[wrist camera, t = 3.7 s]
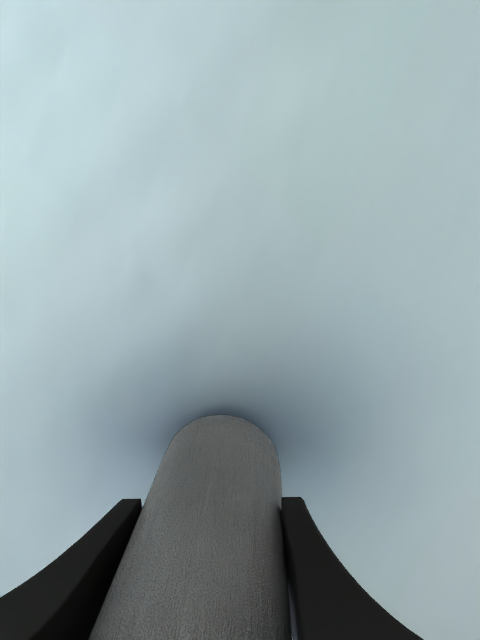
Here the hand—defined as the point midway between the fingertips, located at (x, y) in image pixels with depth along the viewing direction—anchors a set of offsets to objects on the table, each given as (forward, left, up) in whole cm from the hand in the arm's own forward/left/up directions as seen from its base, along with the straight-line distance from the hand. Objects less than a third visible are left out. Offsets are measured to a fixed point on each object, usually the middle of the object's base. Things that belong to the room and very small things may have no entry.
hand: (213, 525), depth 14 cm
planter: (0, 0, -4) cm, 4 cm away
